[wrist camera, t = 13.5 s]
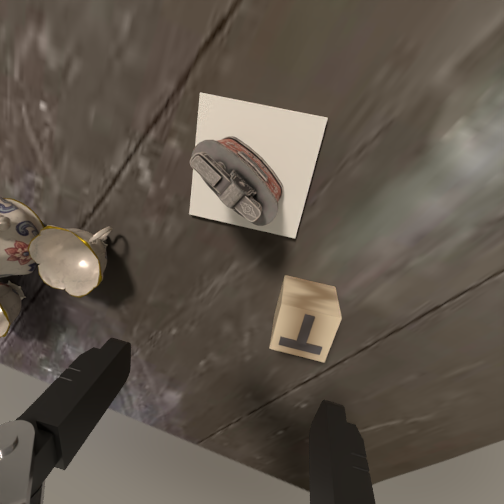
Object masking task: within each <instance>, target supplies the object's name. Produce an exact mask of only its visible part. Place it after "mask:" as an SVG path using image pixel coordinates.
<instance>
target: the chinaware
mask: <svg viewBox="0 0 504 504" xmlns="http://www.w3.org/2000/svg"><path fill="white" fill-rule="evenodd" d="M111 231H112V228H111V227H110V226H109V227H106V228H104V229H102V230H100V231H99V232H97V233H96V234H95V235H93V234H91V233H90V232H87V231H85V230H81V229H75V228H68V229H64V228H61V227H56V226H53V225H48V226H46V227H44V225H43V223H42V221H41V220H40V219H39V217H38V216H37V215H36V214H35V213H34V212H33V211H32V210H31V209H30V208H29V207H28V206H26V205H25V204H23V203H21V202H19V201H17V200H14V199H10V198H2V197H0V278H1V277H8V276H11V275H25V274H29V273H32V272H33V271H34V270H35V268H36V266H37V264H39V265H38V271H39V275H40V277H41V279H42V280H43V282H44V283H45V284H47V285H49V286H50V287H52V288H56V289H62V290H64V289H66V290H65V291H67V292H68V293H69V294H70V295H71V296H75V297H78V298H81V297H83V296H85V295H87V294H89V293H90V292H91V291H92V290H93V289H94V288H96V287H97V286H98V285H99V284H100V282H101V281H102V280H103V272H104V270H105V268H106V265H107V253H106V246H108V244H105V243H104V242H103V241H105V240H106V239H107V237H106V236H107V235H108V234H109V233H110V232H111ZM23 298H26V297H25V296H24V294H23V291H22V290H21V286H17V285H15V284H13V283H11V282H10V281H9V282H8V283H7V284H5V283H2V282H0V337H5V336H6V335H7V334H8V331H9V328H10V325H11V324H12V322H13V321H14V320H15V319H16V318H17V316H18V315H19V313H20V310H21V306H22V303H21V300H22V299H23Z"/></svg>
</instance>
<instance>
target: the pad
mask: <svg viewBox="0 0 504 504" xmlns="http://www.w3.org/2000/svg"><path fill="white" fill-rule="evenodd" d="M327 119H328V118H326V117H321V116H316V115H311V114H306V113H301V112H296V111H291V110H286V109H281V108H276V107H271V106H265V105H260V104H255V103H250V102H245V101H240V100H235V99H230V98H225V97H220V96H215V95H210V94H205V93H200V98H199V110H198V121H197V132H196V144H195V146H196V145H197V144H198V143H200V142H202V141H204V140H216V141H218V140H221V139H222V138H225V137H228V136H234V137H236V138H238V139H239V140H241V141H242V142H244V143H245V144H247V145H248V146H250V147H251V148H252V149H253V150H254V151H255V152H256V153H258V154H259V155H260V156H261V157H262V158H263V159H264V160H265V161H266V162H267V164H268V165H269V166H270V167H271V168H272V169H273V171H274V172H275V174H276V175H277V177H278V178H279V180H280V181H281V183H282V185H283V194H282V197H281V199H280V200H279V201H278V212H277V215H276V217H275V218H274V220H273V221H272V222H270V223H269V224H267V225H264V226H257V225H255V224H253V223H251V222H250V221H248V220H247V219H245V218H244V217H242V216H240V215H239V214H237V213H236V212H235V211H234V210H233V209H230V208H228V207H227V206H226V205H225V204H224V203H222V201H221V200H220V199H219V197H218V196H217V195H216V194H215V193H214V192H213V191H212V190H211V189H210V188H209V186H208V185H207V184H206V183H205V181H204V180H203V179H202V177H201V176H200V175H199V174H198V173H197V172H196V171H195V170H194V169H193V178H192V189H191V201H190V212H189V214H190V215H195V216H199V217H203V218H208V219H212V220H216V221H221V222H225V223H229V224H234V225H238V226H242V227H247V228H251V229H255V230H260V231H264V232H269V233H273V234H277V235H282V236H286V237H290V238H296V234H297V230H298V227H299V223H300V219H301V216H302V212H303V208H304V204H305V201H306V197H307V193H308V190H309V186H310V182H311V178H312V175H313V171H314V167H315V164H316V160H317V156H318V152H319V149H320V145H321V141H322V138H323V134H324V130H325V126H326V123H327Z"/></svg>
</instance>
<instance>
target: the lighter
mask: <svg viewBox="0 0 504 504" xmlns="http://www.w3.org/2000/svg"><path fill="white" fill-rule="evenodd" d="M190 165H191V167H192V168H193V169H194V170H195V171H196V172H197V173H198V174H199V175H200V176H201V177H202V179H203V180H204V181H205V183H206V184H207V185H208V186H209V188H210V189H211V190H212V191H213V192H214V193H215V194H216V195H217V196H218V197H219V199H220V200H221V201H222V203H224V204H225V205H226V206H227V207H228V208H230V209H233V210H234V211H235V212H236V213H237V214H239V215H240V216H242V217H244V218H245V219H247V220H248V221H250V222H251V223H253V224H255V225H257V226H264V225H267V224H269V223H270V222H272V221H273V220H274V218H275V217H276V215H277V212H278V201H279V200H280V199H281V197H282V194H283V185H282V183H281V181H280V180H279V178H278V177H277V175H276V174H275V172H274V171H273V169H272V168H271V167H270V166H269V165H268V164H267V162H266V161H265V160H264V159H263V158H262V157H261V156H260V155H259V154H258V153H256V152H255V151H254V150H253V149H252V148H251V147H250V146H248V145H247V144H245V143H244V142H242V141H241V140H239V139H238V138H236V137H234V136H228V137H225V138H222V139H221V140H218V141H216V140H204V141H202V142H200V143H198V144H197V145H196V146H195V148H194V150H193V152H192V157H191V160H190Z"/></svg>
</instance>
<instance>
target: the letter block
mask: <svg viewBox="0 0 504 504" xmlns="http://www.w3.org/2000/svg"><path fill="white" fill-rule="evenodd" d="M341 319H342V317H341V312H340V307H339V302H338V297H337V293H336V288H335V287H334V286H329V285H325V284H321V283H316V282H312V281H308V280H304V279H299V278H295V277H291V276H286V275H285V276H284V280H283V284H282V288H281V292H280V296H279V299H278V303H277V307H276V311H275V315H274V321H273V328H272V335H271V342H270V348H269V349H273V350H277V351H281V352H285V353H289V354H293V355H297V356H301V357H305V358H308V359H312V360H316V361H320V362H325V360H326V357H327V355H328V352H329V350H330V347H331V344H332V342H333V339H334V337H335V334H336V332H337V329H338V327H339V324H340V321H341Z"/></svg>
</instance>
